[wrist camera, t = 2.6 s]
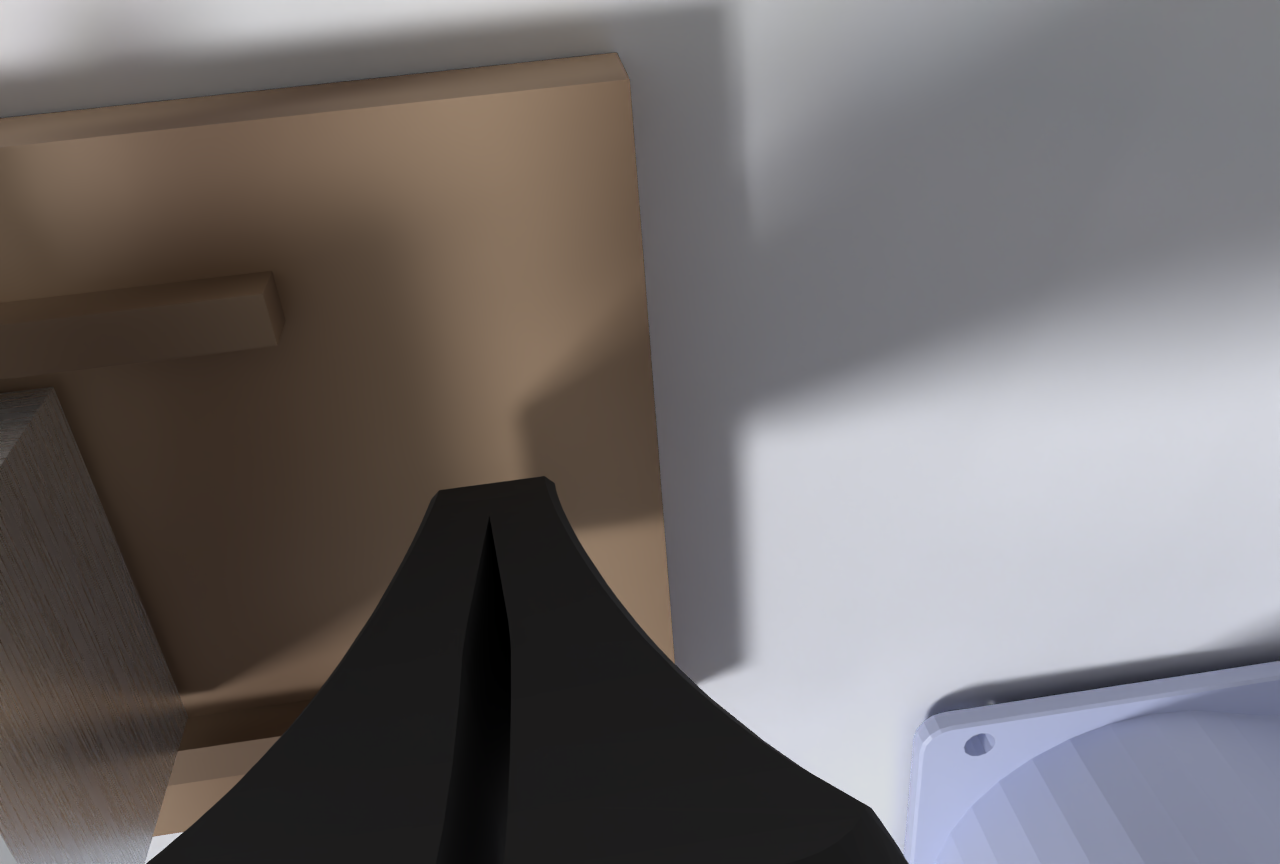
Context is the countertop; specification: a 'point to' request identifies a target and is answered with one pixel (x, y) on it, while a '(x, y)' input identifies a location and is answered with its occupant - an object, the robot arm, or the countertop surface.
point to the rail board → (332, 353)
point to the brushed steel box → (73, 661)
